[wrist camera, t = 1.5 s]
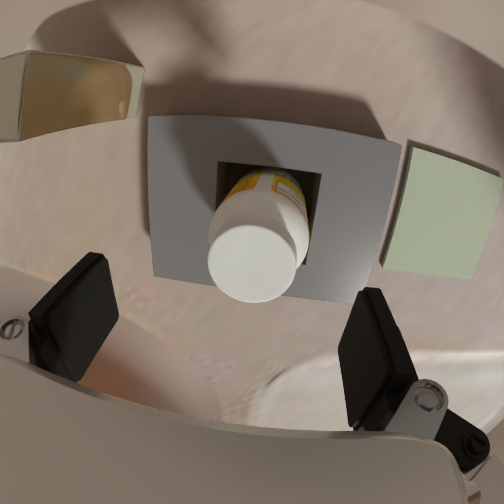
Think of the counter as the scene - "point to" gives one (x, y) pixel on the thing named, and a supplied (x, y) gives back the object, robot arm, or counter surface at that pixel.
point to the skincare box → (63, 92)
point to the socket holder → (275, 155)
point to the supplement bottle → (259, 236)
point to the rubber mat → (442, 217)
